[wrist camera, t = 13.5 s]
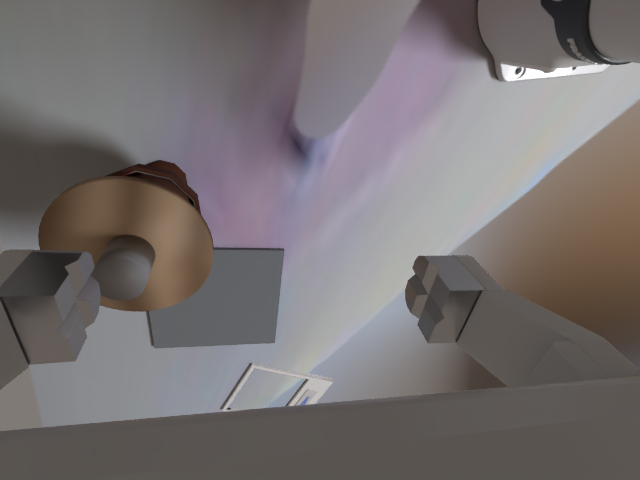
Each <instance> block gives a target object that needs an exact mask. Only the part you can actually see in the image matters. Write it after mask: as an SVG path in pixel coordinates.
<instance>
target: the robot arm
mask: <svg viewBox="0 0 640 480" xmlns="http://www.w3.org/2000/svg"><path fill="white" fill-rule="evenodd" d="M478 24H479V30H480V33H481V36H482V39H483V41H484V43H485V45H486V46H487V48H488V49H489V51H490V52H491V54H492V56H493V58H494V61H495V69H496V74H497V77H498V79H499V80H500V81H504V82H512V81H523V80H533V79H543V78H554V77H564V76H574V75H585V74H595V73H600V72H603V71H604V70H605V69H606V68H608V67H609V66H610V65H620V64H627V63H630V62H634V63H640V0H478ZM517 68H518V71H517V72H516V73H515V71H516V69H517ZM94 267H95V266H94V262H93V259H92V255H91V254H90V253H88V252H87V251H57V250H7V251H4V252H2V253H1V254H0V389H2V388H3V387H4V386H6V385H7V384H8V383H9V382H10V381H12V380H13V379H14V378H16V377H17V376H18V375H19V374H21V373H22V372H23V371H24V370H26V369H27V368H28V367H29V365H30V364H43V363H57V362H70V361H76V359H77V357H78V355H79V353H80V351H81V349H82V347H83V344H84V342H85V340H86V338H87V335H86V331H85V328H86V327H88V326H89V325H91V324H92V323H94V321H95V319H96V317H97V315H98V312H99V307H100V302H101V296H100V287H99V283H98V282H97V281H96V280H95V279H94V278H93V277H91V276H90V275H91V273H92V271H93V269H94ZM413 270H414V272H415V275H414V276H413V277H412V278H410V279H409V280H408V283H407V286H406V289H405V298H406V303H407V307H408V309H409V310H410V312H411V313H412V314H413V315H415V316H416V317H417V318H419V321H418V327H419V328H420V330H421V332H422V334H423V335H424V337H425V339H426V341H427V342H428V343H457V345H458V346H459V347H460V348H462V349H463V350H464V351H465V352H467V353H468V354H469V355H470V356H471V357H473V358H474V359H475V360H476V361H477V362H479V363H480V364H481V365H483V366H484V367H485V368H486V369H487V370H489V371H490V372H491V373H492V374H493V375H495V376H496V377H497V378H498V379H500V380H501V381H502V382H503V383H505V384H506V385H507V386H508V387H504V388H492V389H481V390H469V391H459V392H446V393H436V394H423V395H411V396H400V397H389V398H378V399H365V400H354V401H342V402H332V403H319V404H308V405H296V406H285V407H273V408H262V409H250V410H239V411H227V412H216V413H204V414H193V415H181V416H170V417H158V418H147V419H135V420H124V421H112V422H101V423H89V424H78V425H66V426H55V427H43V428H32V429H20V430H9V431H0V480H640V371H639V370H638V369H637V368H636V367H635V366H634V365H633V364H632V363H631V362H629V361H628V360H627V359H626V358H625V357H624V356H623V355H622V354H620V352H618V351H617V350H616V349H615V348H614V347H613V346H612V345H611V344H610V343H608V342H607V341H606V340H605V339H604V338H603V337H601V336H599V335H597V334H595V333H593V332H591V331H589V330H587V329H585V328H583V327H581V326H579V325H577V324H574V323H573V322H571V321H569V320H567V319H565V318H563V317H561V316H559V315H557V314H555V313H553V312H551V311H549V310H547V309H545V308H543V307H541V306H539V305H537V304H535V303H533V302H531V301H529V300H527V299H525V298H523V297H521V296H519V295H517V294H515V293H513V292H511V291H509V290H507V291H505V290H503V289H502V287H501V286H500V285H499V284H498V283H497V282H496V281H495V280H494V279H493V278H492V277H491V276H490V275H489V274H488V273H487V272H486V271H485V269H483V267H482V266H481V265H480V264H479V263H478V262H477V261H476V260H475V259H474V258H473V257H471V256H469V255H451V256H418V257H417V259H416V260H415V262H414V265H413Z"/></svg>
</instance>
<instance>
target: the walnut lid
mask: <svg viewBox="0 0 640 480" xmlns="http://www.w3.org/2000/svg"><path fill="white" fill-rule="evenodd" d="M38 237H39V246H40V250H57V251H87V252H88V253H90V254H91V255H92V259H93V262H94V266H95V267H94V269H93V271H92V273H91V275H90V276H91V277H93V278H94V279H95V280H96V281H97V282H98V283H99V287H100V296H101V302H100V305H101V306H105V307H108V308H112V309H118V310H124V311H153V310H158V309H163V308H167V307H170V306H173V305H175V304H178V303H180V302H182V301H184V300H186V299H187V298H189V297H190V296H192V295H193V294H194V293H195V292H196V291H197V290H199V288H200V287H201V286H202V285H203V284H204V282H205V281H206V279H207V277H208V275H209V273H210V270H211V266H212V262H213V249H214V247H213V239H212V236H211V232H210V230H209V228H208V225H207V223H206V222H205V220H204V219H203V217H202V215H201V214H200V213H199V212H198V211H197V209H196V208H195V207H194V206H193V205H192V204H190V203H189V202H188V201H187V200H186V199H185V198H183V197H182V196H180V195H179V194H178V193H176V192H174V191H172V190H171V189H169V188H167V187H165V186H162V185H160V184H158V183H155V182H152V181H149V180H145V179H140V178H136V177H128V176H105V177H97V178H93V179H89V180H86V181H83V182H81V183H78V184H76V185H74V186H72V187H71V188H69V189H67V190H66V191H65V192H63V193H62V194H61V195H60V196H59V197H58V198H57V199H56V200H55V201H54V202H53V203H52V204H51V205H50V206H49V208H48V209H47V210H46V212H45V214H44V216H43V217H42V220H41V223H40V226H39V235H38Z"/></svg>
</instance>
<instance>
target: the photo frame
mask: <svg viewBox="0 0 640 480" xmlns="http://www.w3.org/2000/svg"><path fill="white" fill-rule="evenodd" d="M254 368H257V369H262V370H267V371H272V372H276V373H281V374H286V375H291V376H296V377H300V378H305V379H306V380H305V381H304V382H303V384H302V385H301V386H300V387H299V389H298V390H297V391H296V392H295V394H294V395H293V396H292V398H291V399H290V400H289V402H288V403H287V404H286V406H296V405H308V404H315V403H316V402H317V401H318V400H319V398H320V397H321V396H322V395H323V394H324V392H325V391H326V390H327V389H328V387H329V386H330V385H331V384H332V383H333V380H332V378H329V377H324V376H320V375H315V374H310V373H308V374H302V373H298V372H293V371H288V370H284V369H279V368H274V367H269V366H265V365H260V364H255V363H252V364H251V366H250V367H249V369H248V370H247V372H246V373H245V375H244V376H243V378H242V379H241V381H240V382H239V384H238V385H237V387H236V388H235V390H234V391H233V393H232V394H231V396H230V397H229V399H228V400H227V402H226V403H225V405H224V406H223V408H222V411H226V412H227V411H239V410H241V409H235V408H231V410H228V409H227V408H228V406H229V405H230V403H231V402H232V400H233V399H234V397H235V396H236V394H237V393H238V391H239V390H240V388H241V387H242V385H243V384H244V382H245V381H246V379H247V378H248V376H249V375H250V373H251V372H252V370H253V369H254Z"/></svg>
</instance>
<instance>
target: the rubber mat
mask: <svg viewBox="0 0 640 480" xmlns="http://www.w3.org/2000/svg"><path fill="white" fill-rule="evenodd" d="M283 257H284V249H264V248H214V249H213V262H212V266H211V270H210V273H209V275H208V277H207V279H206V281H205V282H204V284H203V285H202V286H201V287H200V288H199V290H197V291H196V292H195V293H194V294H193V295H192V296H190V297H189V298H187V299H186V300H184V301H182V302H180V303H178V304H175V305H173V306H170V307H167V308H163V309H158V310H153V311H149V316H150V322H151V329H152V335H153V342H154V348H172V347H194V346H216V345H237V344H259V343H275V334H276V325H277V315H278V305H279V296H280V286H281V276H282V267H283Z"/></svg>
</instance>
